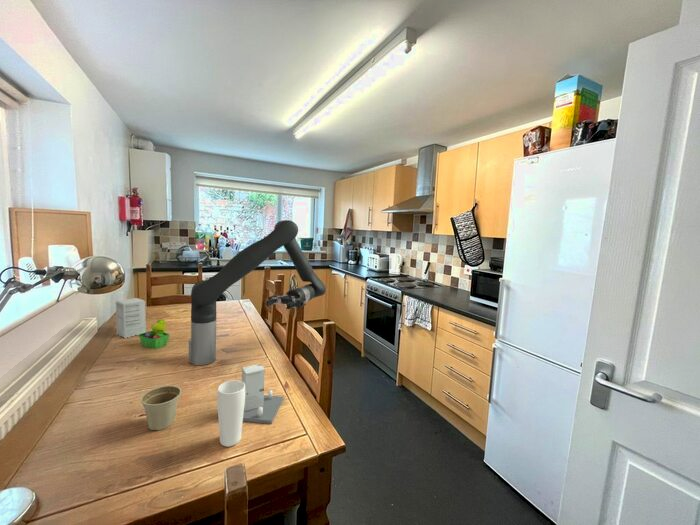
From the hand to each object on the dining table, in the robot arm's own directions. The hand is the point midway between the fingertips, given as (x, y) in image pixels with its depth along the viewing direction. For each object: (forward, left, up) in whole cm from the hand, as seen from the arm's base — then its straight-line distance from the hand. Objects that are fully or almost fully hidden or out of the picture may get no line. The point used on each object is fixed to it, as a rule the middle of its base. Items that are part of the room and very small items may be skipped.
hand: (277, 305), depth 106 cm
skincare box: (-1, -20, -27) cm, 34 cm away
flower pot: (-23, -30, -28) cm, 47 cm away
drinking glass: (-1, -34, -28) cm, 44 cm away
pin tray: (-1, -20, -28) cm, 34 cm away
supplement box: (-82, +29, -28) cm, 91 cm away
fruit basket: (-62, +19, -28) cm, 70 cm away
